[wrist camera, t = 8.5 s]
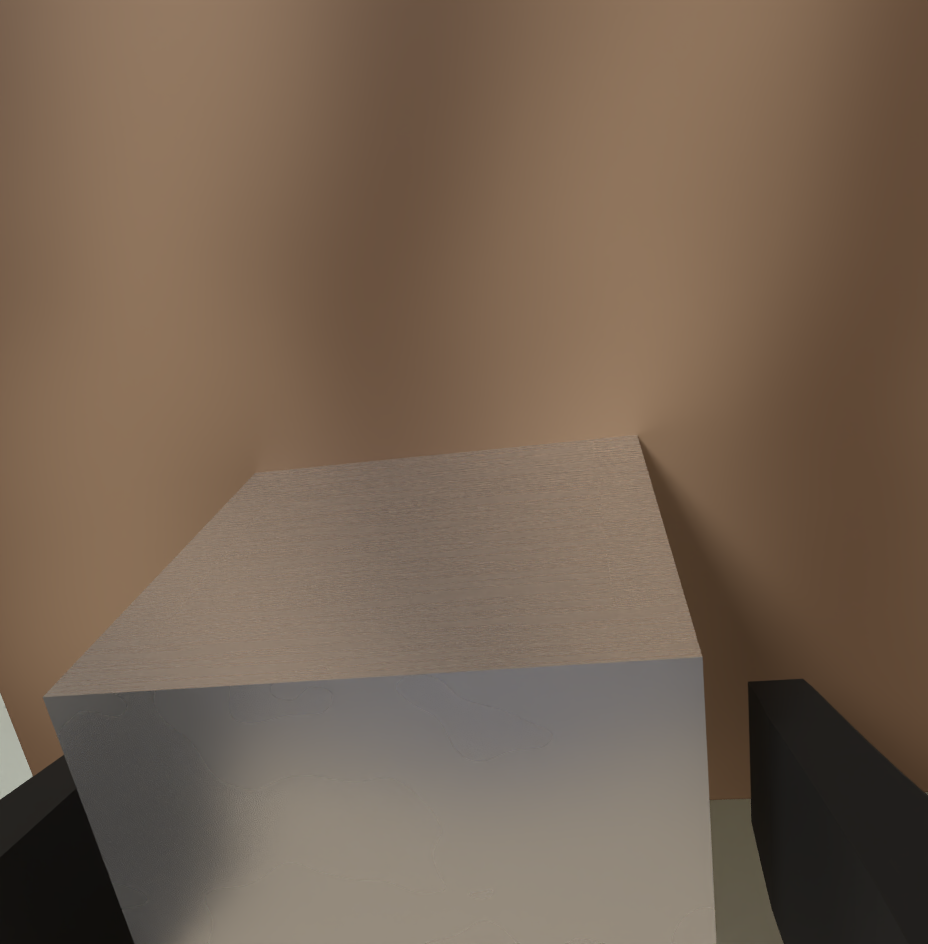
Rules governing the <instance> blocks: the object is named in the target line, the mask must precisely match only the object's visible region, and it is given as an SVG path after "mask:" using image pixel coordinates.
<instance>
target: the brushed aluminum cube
mask: <svg viewBox="0 0 928 944" xmlns="http://www.w3.org/2000/svg"><path fill="white" fill-rule="evenodd" d="M43 700H44V702H45V705H46V708H47V710H48V713H49V716H50V718H51V721H52V724H53V726H54V729H55V732H56V734H57V737H58V740H59V743H60V745H61V748H62V751H63V753H64V756H65V759H66V761H67V764H68V767H69V769H70V772H71V775H72V777H73V780H74V783H75V785H76V788H77V791H78V794H79V796H80V799H81V802H82V804H83V807H84V810H85V812H86V815H87V818H88V820H89V823H90V826H91V828H92V831H93V834H94V836H95V839H96V842H97V844H98V847H99V850H100V853H101V855H102V858H103V861H104V863H105V866H106V869H107V871H108V874H109V877H110V879H111V882H112V885H113V887H114V890H115V893H116V895H117V898H118V901H119V904H120V906H121V909H122V912H123V914H124V917H125V920H126V922H127V925H128V928H129V930H130V933H131V936H132V938H133V941H134V944H716V924H715V903H714V883H713V863H712V842H711V822H710V801H709V781H708V760H707V740H706V720H705V699H704V679H703V658H702V654H701V650H700V647H699V644H698V640H697V637H696V633H695V630H694V627H693V623H692V620H691V616H690V613H689V610H688V606H687V603H686V599H685V596H684V593H683V589H682V586H681V582H680V579H679V576H678V572H677V569H676V565H675V562H674V559H673V555H672V552H671V548H670V545H669V542H668V538H667V535H666V531H665V528H664V524H663V521H662V518H661V514H660V511H659V507H658V504H657V501H656V497H655V494H654V490H653V487H652V484H651V480H650V477H649V473H648V470H647V467H646V463H645V460H644V456H643V453H642V450H641V446H640V443H639V439H638V436H637V435H631V436H621V437H611V438H601V439H591V440H581V441H571V442H561V443H551V444H541V445H531V446H521V447H511V448H501V449H490V450H480V451H470V452H460V453H450V454H440V455H430V456H420V457H410V458H400V459H390V460H380V461H370V462H360V463H350V464H340V465H330V466H320V467H310V468H300V469H290V470H280V471H270V472H260V473H255V474H254V475H253V476H252V477H251V478H250V479H249V480H248V481H247V482H246V483H245V484H244V485H243V486H242V488H241V489H240V490H239V491H238V492H237V493H236V494H235V495H234V496H233V497H232V498H231V499H230V500H229V501H228V502H227V503H226V504H225V505H224V507H223V508H222V509H221V510H220V511H219V512H218V513H217V514H216V515H215V516H214V517H213V518H212V519H211V520H210V521H209V522H208V523H207V524H206V525H205V527H204V528H203V529H202V530H201V531H200V532H199V533H198V534H197V535H196V536H195V537H194V538H193V539H192V540H191V541H190V542H189V543H188V544H187V546H186V547H185V548H184V549H183V550H182V551H181V552H180V553H179V554H178V555H177V556H176V557H175V558H174V559H173V560H172V561H171V562H170V563H169V564H168V566H167V567H166V568H165V569H164V570H163V571H162V572H161V573H160V574H159V575H158V576H157V577H156V578H155V579H154V580H153V581H152V582H151V583H150V585H149V586H148V587H147V588H146V589H145V590H144V591H143V592H142V593H141V594H140V595H139V596H138V597H137V598H136V599H135V600H134V601H133V602H132V603H131V605H130V606H129V607H128V608H127V609H126V610H125V611H124V612H123V613H122V614H121V615H120V616H119V617H118V618H117V619H116V620H115V621H114V622H113V624H112V625H111V626H110V627H109V628H108V629H107V630H106V631H105V632H104V633H103V634H102V635H101V636H100V637H99V638H98V639H97V640H96V641H95V642H94V644H93V645H92V646H91V647H90V648H89V649H88V650H87V651H86V652H85V653H84V654H83V655H82V656H81V657H80V658H79V659H78V660H77V661H76V663H75V664H74V665H73V666H72V667H71V668H70V669H69V670H68V671H67V672H66V673H65V674H64V675H63V676H62V677H61V678H60V679H59V680H58V681H57V683H56V684H55V685H54V686H53V687H52V688H51V689H50V690H49V691H48V692H47V693H46V694H45V695H44V696H43Z"/></svg>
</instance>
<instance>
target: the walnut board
mask: <svg viewBox="0 0 928 944" xmlns="http://www.w3.org/2000/svg"><path fill="white" fill-rule="evenodd" d="M631 435H637V436H638V439H639V443H640V446H641V450H642V453H643V456H644V460H645V463H646V467H647V470H648V473H649V477H650V480H651V484H652V487H653V490H654V494H655V497H656V501H657V504H658V507H659V511H660V514H661V518H662V521H663V524H664V528H665V531H666V535H667V538H668V542H669V545H670V548H671V552H672V555H673V559H674V562H675V565H676V569H677V572H678V576H679V579H680V582H681V586H682V589H683V593H684V596H685V599H686V603H687V606H688V610H689V613H690V616H691V620H692V623H693V627H694V630H695V633H696V637H697V640H698V644H699V647H700V650H701V654H702V658H703V679H704V699H705V720H706V740H707V760H708V781H709V800H722V799H750V798H751V782H750V745H749V708H748V682H750V681H768V680H786V679H804V680H805V681H806V682H808V683H809V684H810V685H811V686H812V687H813V688H814V689H815V690H816V691H818V692H819V693H820V694H821V695H822V696H823V697H824V698H825V699H826V700H827V701H828V702H829V703H830V704H831V705H832V706H833V707H834V708H835V709H836V710H837V711H838V712H839V713H840V714H841V715H842V716H843V717H844V718H845V719H846V720H847V721H848V722H849V723H850V724H851V725H852V726H853V727H854V728H855V729H856V730H857V731H858V732H859V733H860V734H861V735H863V736H864V737H865V738H866V739H867V740H868V741H869V742H870V743H871V744H872V745H873V746H874V747H875V748H876V749H877V750H878V751H879V752H880V753H881V754H883V755H884V756H885V757H886V758H887V759H888V760H889V761H890V762H891V763H892V764H893V765H894V766H896V767H897V768H898V769H899V770H900V771H901V772H902V773H903V774H904V775H905V776H907V777H908V778H909V779H910V780H911V781H912V782H913V783H915V784H916V785H917V786H918V787H919V788H920V789H921V790H922V791H924V792H928V0H0V693H1V696H2V698H3V701H4V703H5V706H6V708H7V711H8V714H9V716H10V719H11V721H12V724H13V726H14V729H15V731H16V734H17V736H18V739H19V742H20V744H21V747H22V749H23V752H24V754H25V757H26V759H27V762H28V764H29V767H30V770H31V772H32V775H33V776H34V775H36V774H37V773H39V772H40V771H41V770H43V769H44V768H46V767H47V766H49V765H50V764H51V763H53V762H54V761H56V760H57V759H58V758H60V757H61V756H63V755H64V753H63V751H62V748H61V745H60V743H59V740H58V737H57V734H56V732H55V729H54V726H53V724H52V721H51V718H50V716H49V713H48V710H47V708H46V705H45V702H44V700H43V696H44V695H45V694H46V693H47V692H48V691H49V690H50V689H51V688H52V687H53V686H54V685H55V684H56V683H57V681H58V680H59V679H60V678H61V677H62V676H63V675H64V674H65V673H66V672H67V671H68V670H69V669H70V668H71V667H72V666H73V665H74V664H75V663H76V661H77V660H78V659H79V658H80V657H81V656H82V655H83V654H84V653H85V652H86V651H87V650H88V649H89V648H90V647H91V646H92V645H93V644H94V642H95V641H96V640H97V639H98V638H99V637H100V636H101V635H102V634H103V633H104V632H105V631H106V630H107V629H108V628H109V627H110V626H111V625H112V624H113V622H114V621H115V620H116V619H117V618H118V617H119V616H120V615H121V614H122V613H123V612H124V611H125V610H126V609H127V608H128V607H129V606H130V605H131V603H132V602H133V601H134V600H135V599H136V598H137V597H138V596H139V595H140V594H141V593H142V592H143V591H144V590H145V589H146V588H147V587H148V586H149V585H150V583H151V582H152V581H153V580H154V579H155V578H156V577H157V576H158V575H159V574H160V573H161V572H162V571H163V570H164V569H165V568H166V567H167V566H168V564H169V563H170V562H171V561H172V560H173V559H174V558H175V557H176V556H177V555H178V554H179V553H180V552H181V551H182V550H183V549H184V548H185V547H186V546H187V544H188V543H189V542H190V541H191V540H192V539H193V538H194V537H195V536H196V535H197V534H198V533H199V532H200V531H201V530H202V529H203V528H204V527H205V525H206V524H207V523H208V522H209V521H210V520H211V519H212V518H213V517H214V516H215V515H216V514H217V513H218V512H219V511H220V510H221V509H222V508H223V507H224V505H225V504H226V503H227V502H228V501H229V500H230V499H231V498H232V497H233V496H234V495H235V494H236V493H237V492H238V491H239V490H240V489H241V488H242V486H243V485H244V484H245V483H246V482H247V481H248V480H249V479H250V478H251V477H252V476H253V475H254V474H255V473H260V472H270V471H280V470H290V469H300V468H310V467H320V466H330V465H340V464H350V463H360V462H370V461H380V460H390V459H400V458H410V457H420V456H430V455H440V454H450V453H460V452H470V451H480V450H490V449H501V448H511V447H521V446H531V445H541V444H551V443H561V442H571V441H581V440H591V439H601V438H611V437H621V436H631Z"/></svg>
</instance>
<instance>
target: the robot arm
mask: <svg viewBox="0 0 928 944" xmlns="http://www.w3.org/2000/svg"><path fill="white" fill-rule="evenodd" d="M748 708H749V745H750V782H751V819H752V826H753V830H754V834H755V839H756V843H757V848H758V852H759V856H760V861H761V865H762V870H763V874H764V878H765V882H766V886H767V891H768V895H769V899H770V903H771V907H772V911H773V914H774V916H775V919H776V922H777V925H778V928H779V931H780V934H781V937H782V940H783V943H784V944H928V795H927V794H926V793H925V792H924V791H922V790H921V789H920V788H919V787H918V786H917V785H916V784H915V783H913V782H912V781H911V780H910V779H909V778H908V777H907V776H905V775H904V774H903V773H902V772H901V771H900V770H899V769H898V768H897V767H896V766H894V765H893V764H892V763H891V762H890V761H889V760H888V759H887V758H886V757H885V756H884V755H883V754H881V753H880V752H879V751H878V750H877V749H876V748H875V747H874V746H873V745H872V744H871V743H870V742H869V741H868V740H867V739H866V738H865V737H864V736H863V735H861V734H860V733H859V732H858V731H857V730H856V729H855V728H854V727H853V726H852V725H851V724H850V723H849V722H848V721H847V720H846V719H845V718H844V717H843V716H842V715H841V714H840V713H839V712H838V711H837V710H836V709H835V708H834V707H833V706H832V705H831V704H830V703H829V702H828V701H827V700H826V699H825V698H824V697H823V696H822V695H821V694H820V693H819V692H818V691H816V690H815V689H814V688H813V687H812V686H811V685H810V684H809V683H808V682H806V681H805V680H804V679H786V680H768V681H750V682H748ZM0 944H134V941H133V938H132V936H131V933H130V930H129V928H128V925H127V922H126V920H125V917H124V914H123V912H122V909H121V906H120V904H119V901H118V898H117V895H116V893H115V890H114V887H113V885H112V882H111V879H110V877H109V874H108V871H107V869H106V866H105V863H104V861H103V858H102V855H101V853H100V850H99V847H98V844H97V842H96V839H95V836H94V834H93V831H92V828H91V826H90V823H89V820H88V818H87V815H86V812H85V810H84V807H83V804H82V802H81V799H80V796H79V794H78V791H77V788H76V785H75V783H74V780H73V777H72V775H71V772H70V769H69V767H68V764H67V761H66V759H65V756H64V755H63V756H61V757H60V758H58V759H57V760H56V761H54V762H53V763H51V764H50V765H49V766H47V767H46V768H44V769H43V770H41V771H40V772H39V773H37V774H36V775H34V776H33V777H32V778H30V779H29V780H27V781H26V782H25V783H23V784H22V785H20V786H19V787H18V788H16V789H15V790H13V791H12V792H11V793H9V794H8V795H6V796H5V797H3V798H2V799H1V800H0Z"/></svg>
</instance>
